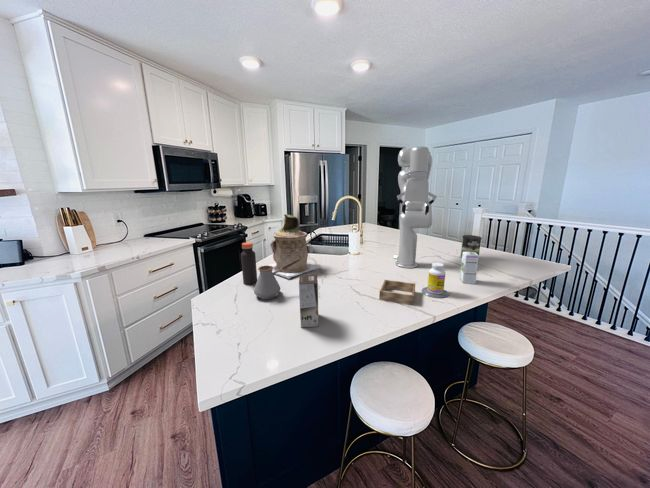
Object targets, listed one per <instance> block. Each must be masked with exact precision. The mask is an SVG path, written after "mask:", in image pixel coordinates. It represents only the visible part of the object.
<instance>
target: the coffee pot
mask: <svg viewBox="0 0 650 488" xmlns="http://www.w3.org/2000/svg"><path fill="white" fill-rule="evenodd" d="M298 261H300V259H299V260H297V261H294V262H292V263H290V264H288V265H286V266H284V267H283V268H281V269H279V270H277V271H275V272H273V273H272V269H273V266H267V265H261V266H259V267H257V271H259V275H258V276H257V282H256V283H255V286H254V289H253V293H254V294H255V295H256V297H258V298H259V299H261V300H270V299H274V298H276V297H277V296H278V294H279V293H280V291H281V286H280V283H279V282H278V280H277V278H276V273H278V272H279V271H281V270H283V269H285V268H288V267H290V266H292V265H293V264H294V263H296V262H298ZM300 263H301V262H300Z"/></svg>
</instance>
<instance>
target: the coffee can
mask: <svg viewBox="0 0 650 488" xmlns="http://www.w3.org/2000/svg"><path fill="white" fill-rule="evenodd" d="M481 243H482V236H478V235H473V234H472V235H471V234H466V235H465V234H464V235H462V240H461V248H460V256H459V258H460V259H461V260H462V254H463V252H475V253H476V254H478V255H479V256H480V249H481Z"/></svg>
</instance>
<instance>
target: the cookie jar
mask: <svg viewBox="0 0 650 488" xmlns="http://www.w3.org/2000/svg"><path fill="white" fill-rule="evenodd" d="M298 226H299V219H298V217H296V216H294V215H291V214H286V213H285V214H284V223H283V226H282V227H281V228H280V229H279V230H278V231H275V232H274V233H273V238H274V240H272V241H271V243H270V248H271V251H272V253H273V255H272V258H273V261H274V262H275V263H270V264H268V265H267V264H266V266H273V269H272V273H273V272H275V271H277V270H279V269H281V268H283V267H284V266H286V265H288V264H290V263H292V262H294V261H297V260H299V259H300V261H298V262H296V263H294V264H293V265H292V266H290V267H288V268H285V269H283V270H281V271H279V272H278V273H276V274H275V276H276V275H277V276H280V277H282V278H285V279H287V280H291V278H293V277H298V276H300V275H304V274H305V273H308V272H311V271H315V270H319V269H320V264H316V263H311V262H308V259H309V258H308V256H309V251H308V245H307V237H308V233H307V232H305V231H301V230H300V229H298ZM300 262H301V263H300Z"/></svg>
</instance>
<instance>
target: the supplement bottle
mask: <svg viewBox="0 0 650 488" xmlns="http://www.w3.org/2000/svg"><path fill="white" fill-rule="evenodd" d="M444 268H445V264H444V263H441V262H432V263H431V268H429V271H428V277H427V279H428V280H427V286H426V287H427V290H428V292H430V293H432V294H442V293H443V290H445V280H446V271H445V270H444Z"/></svg>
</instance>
